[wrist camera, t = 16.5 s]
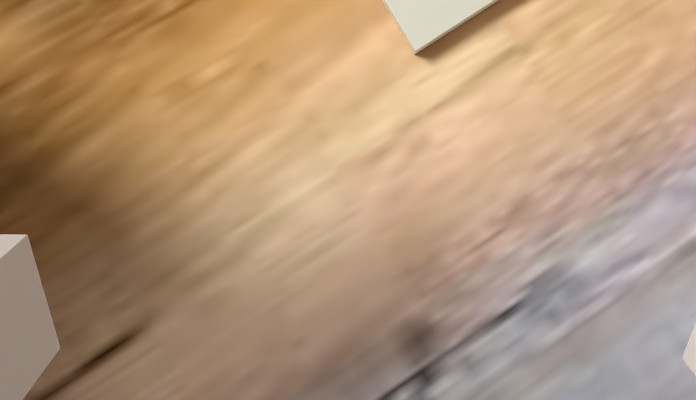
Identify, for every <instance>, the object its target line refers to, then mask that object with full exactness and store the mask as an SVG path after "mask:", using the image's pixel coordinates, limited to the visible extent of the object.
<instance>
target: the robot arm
mask: <svg viewBox="0 0 696 400" xmlns="http://www.w3.org/2000/svg"><path fill="white" fill-rule="evenodd" d="M60 348H61V347H60V344H59V341H58V337H57V334H56V330H55V327H54V324H53V320H52V317H51V313H50V310H49V306H48V303H47V300H46V296H45V293H44V289H43V286H42V283H41V279H40V276H39V272H38V269H37V265H36V262H35V259H34V255H33V252H32V248H31V245H30V242H29V238H28V235H21V234H0V400H23V399H24V397H25V396H26V395H27V393H28V392H29V391H30V389H31V388H32V386H33V385H34V384H35V382H36V381H37V380H38V378H39V377H40V376H41V374H42V373H43V371H44V370H45V369H46V367H47V366H48V365H49V363H50V362H51V360H52V359H53V358H54V356H55V355H56V354H57V352H58V351H59V350H60ZM682 359H683V360H684V362H685V363H686V364H687V365H688V367H689V368H690V369H691V370H692V372H693V373H694V374H695V376H696V323H695V325H694V328H693V331H692V333H691V336H690V339H689V341H688V344H687V346H686V349H685V352H684V354H683V357H682Z"/></svg>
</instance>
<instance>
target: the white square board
mask: <svg viewBox="0 0 696 400" xmlns="http://www.w3.org/2000/svg"><path fill="white" fill-rule="evenodd" d="M381 1H382V3H383V4H384V6H385V7H386V9H387V11H388V12H389V14H390V16H391V17H392V19H393V20H394V22H395V24H396V25H397V27H398V29H399V30H400V32H401V34H402V35H403V37H404V38H405V40H406V42H407V43H408V45H409V47H410V48H411V50H412V51H413V53H414V55H415V54H416V53H418V52H419V51H421V50H423V49H424V48H426V47H427V46H429V45H430V44H432V43H433V42H435V41H437V40H438V39H440V38H441V37H443V36H444V35H446V34H447V33H449V32H451V31H452V30H454V29H455V28H457V27H458V26H460V25H461V24H463V23H465V22H466V21H468V20H469V19H471V18H472V17H474V16H475V15H477V14H479V13H480V12H482V11H483V10H485V9H486V8H488V7H489V6H491V5H493V4H494V3H496V2H497V1H499V0H381Z"/></svg>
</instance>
